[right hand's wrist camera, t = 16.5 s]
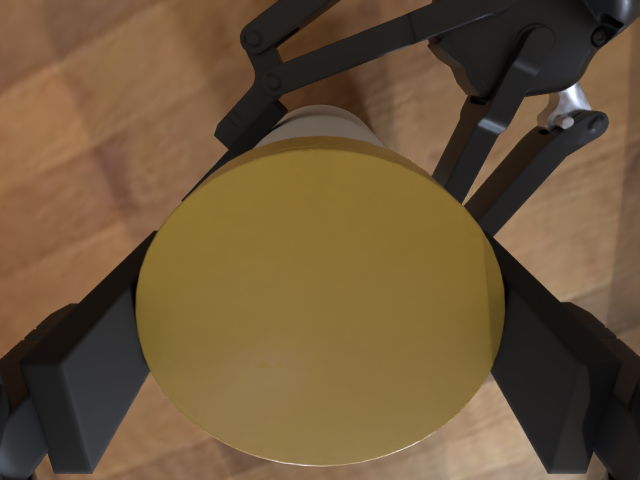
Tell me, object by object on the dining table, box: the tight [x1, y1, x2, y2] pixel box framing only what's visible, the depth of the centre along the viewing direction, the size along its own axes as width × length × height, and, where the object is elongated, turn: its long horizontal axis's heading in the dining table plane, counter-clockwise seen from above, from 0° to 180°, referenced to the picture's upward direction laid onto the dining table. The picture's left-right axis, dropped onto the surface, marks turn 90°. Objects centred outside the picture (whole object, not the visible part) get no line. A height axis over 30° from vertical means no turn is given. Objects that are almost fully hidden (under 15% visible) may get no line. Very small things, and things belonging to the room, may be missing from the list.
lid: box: [135, 136, 505, 466], centre depth 11 cm, size 9×9×2 cm
